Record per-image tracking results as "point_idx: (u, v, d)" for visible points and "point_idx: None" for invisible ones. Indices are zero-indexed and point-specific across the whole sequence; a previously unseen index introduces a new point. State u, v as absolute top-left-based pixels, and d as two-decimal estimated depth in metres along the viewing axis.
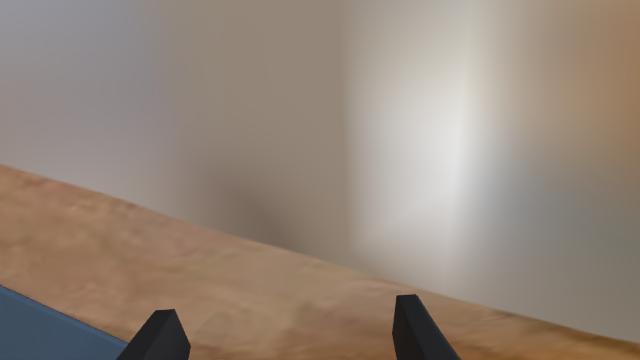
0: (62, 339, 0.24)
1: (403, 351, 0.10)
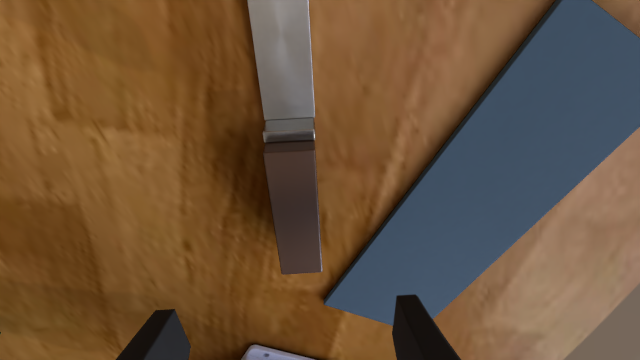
0: (563, 165, 0.19)
1: (403, 351, 0.10)
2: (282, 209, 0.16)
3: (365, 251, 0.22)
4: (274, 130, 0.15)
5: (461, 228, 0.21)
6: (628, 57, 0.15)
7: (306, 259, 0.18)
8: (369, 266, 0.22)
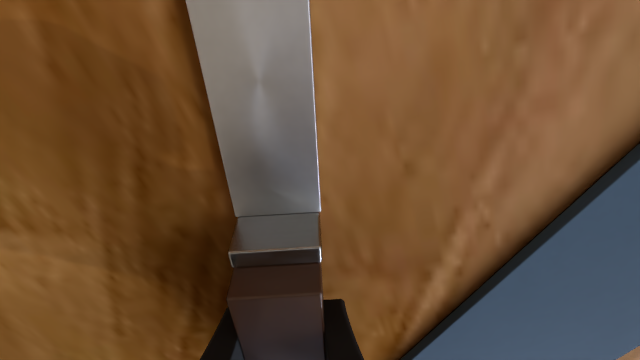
0: None
1: None
2: None
3: None
4: (249, 248, 0.09)
5: (537, 348, 0.14)
6: None
7: None
8: None
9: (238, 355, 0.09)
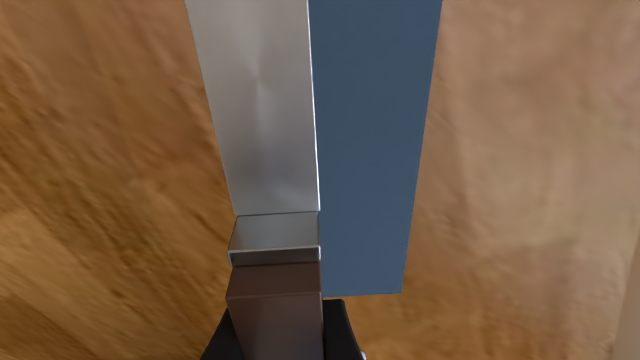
0: (394, 33, 0.14)
1: None
2: None
3: None
4: (248, 247, 0.09)
5: (341, 165, 0.17)
6: None
7: None
8: None
9: (238, 355, 0.09)
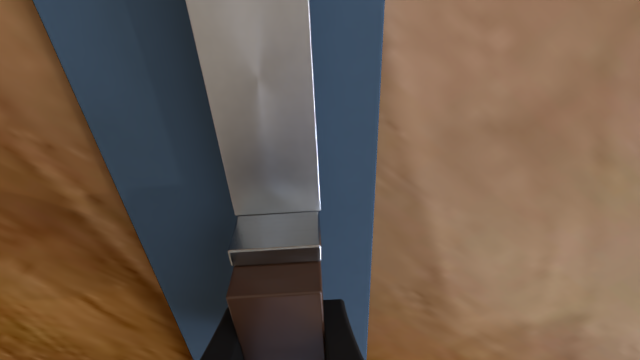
0: (315, 66, 0.09)
1: None
2: None
3: (175, 319, 0.14)
4: (248, 247, 0.09)
5: None
6: None
7: None
8: (204, 333, 0.15)
9: (238, 355, 0.09)
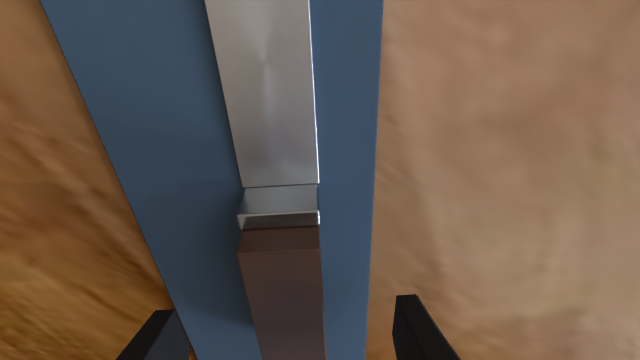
0: (315, 61, 0.09)
1: (403, 351, 0.10)
2: (270, 323, 0.11)
3: (177, 312, 0.15)
4: (255, 212, 0.10)
5: None
6: None
7: None
8: (205, 326, 0.15)
9: None
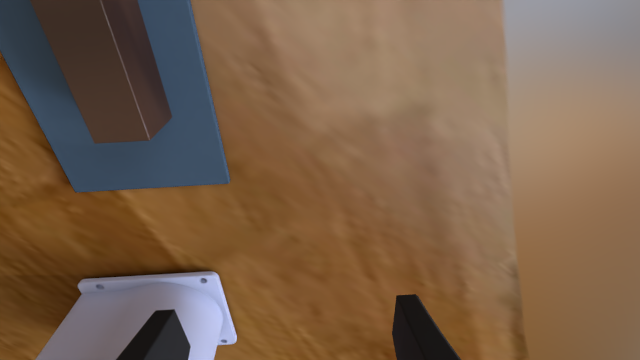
0: None
1: (403, 351, 0.10)
2: (54, 20, 0.11)
3: None
4: None
5: None
6: None
7: (120, 117, 0.13)
8: (52, 108, 0.16)
9: None
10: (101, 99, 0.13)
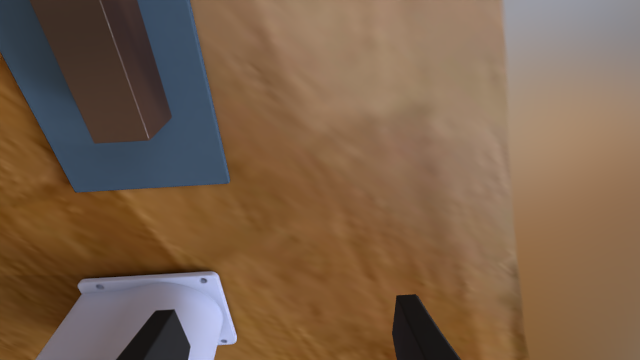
0: None
1: (403, 351, 0.10)
2: (54, 20, 0.11)
3: None
4: None
5: None
6: None
7: (120, 116, 0.13)
8: (52, 108, 0.16)
9: None
10: (101, 99, 0.13)
